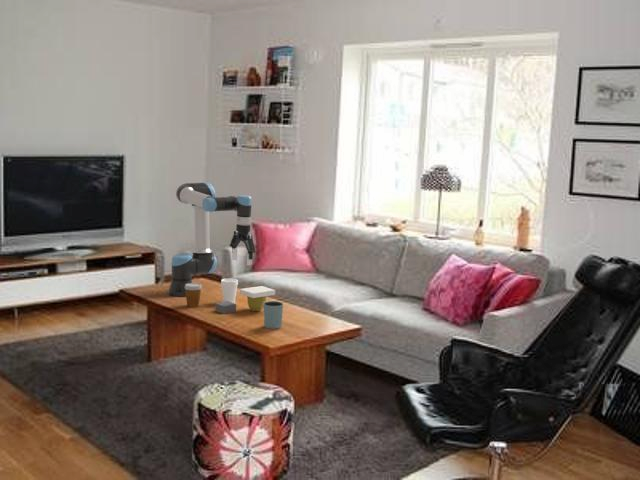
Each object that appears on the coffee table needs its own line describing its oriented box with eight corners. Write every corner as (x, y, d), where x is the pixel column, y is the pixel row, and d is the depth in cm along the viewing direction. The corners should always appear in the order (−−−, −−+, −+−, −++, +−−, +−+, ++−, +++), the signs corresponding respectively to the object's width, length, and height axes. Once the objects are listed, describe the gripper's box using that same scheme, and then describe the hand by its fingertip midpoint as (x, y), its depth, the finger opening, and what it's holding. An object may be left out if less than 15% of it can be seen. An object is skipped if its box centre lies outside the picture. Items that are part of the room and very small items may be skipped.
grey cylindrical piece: (279, 330, 361) (280, 306, 359) (260, 328, 363) (260, 304, 361) (284, 324, 371) (285, 301, 369) (265, 323, 373) (266, 300, 371)
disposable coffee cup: (182, 304, 402) (182, 283, 400) (199, 303, 406) (199, 282, 404) (186, 308, 394) (186, 287, 392) (203, 307, 397) (204, 286, 395)
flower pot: (262, 312, 392) (262, 296, 391) (246, 311, 394) (246, 295, 392) (266, 308, 401) (266, 293, 399) (251, 307, 402) (251, 291, 401)
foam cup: (226, 305, 404) (227, 282, 402) (217, 302, 411) (217, 279, 409) (240, 303, 410) (241, 280, 408) (231, 299, 417) (231, 277, 415)
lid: (239, 293, 396) (239, 289, 395) (262, 290, 405) (262, 285, 405) (252, 298, 387) (252, 293, 386) (275, 294, 396) (275, 290, 396)
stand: (215, 310, 393) (215, 303, 392) (227, 308, 398) (227, 301, 397) (223, 313, 387) (223, 306, 386) (235, 311, 392) (236, 304, 392)
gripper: (224, 220, 398) (223, 258, 402) (251, 228, 380) (249, 267, 384) (235, 220, 403) (234, 257, 407) (263, 227, 385) (261, 266, 389)
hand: (241, 262), depth 395 cm, fingers open, 13 cm apart
